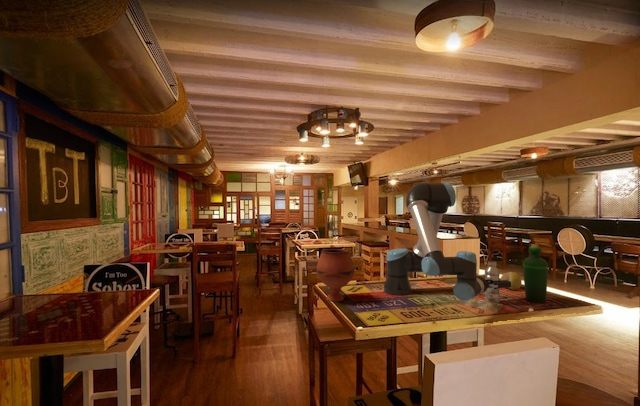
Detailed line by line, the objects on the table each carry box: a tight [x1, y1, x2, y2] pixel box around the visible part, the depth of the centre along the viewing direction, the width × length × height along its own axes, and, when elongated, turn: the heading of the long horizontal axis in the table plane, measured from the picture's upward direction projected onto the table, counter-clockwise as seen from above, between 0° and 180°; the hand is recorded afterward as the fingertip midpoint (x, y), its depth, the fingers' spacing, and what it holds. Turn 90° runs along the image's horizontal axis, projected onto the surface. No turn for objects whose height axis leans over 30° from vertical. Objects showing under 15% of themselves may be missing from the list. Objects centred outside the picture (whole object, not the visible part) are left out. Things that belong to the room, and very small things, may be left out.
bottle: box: [522, 243, 549, 304], centre depth 157 cm, size 11×11×28 cm
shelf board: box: [459, 298, 504, 313], centre depth 148 cm, size 16×9×4 cm, turn 44°
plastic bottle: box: [484, 260, 501, 304], centre depth 154 cm, size 6×7×20 cm
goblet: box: [316, 248, 355, 302], centre depth 160 cm, size 19×19×25 cm
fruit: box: [500, 271, 523, 291], centre depth 179 cm, size 10×11×10 cm
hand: (492, 278), depth 152 cm, fingers open, 13 cm apart
